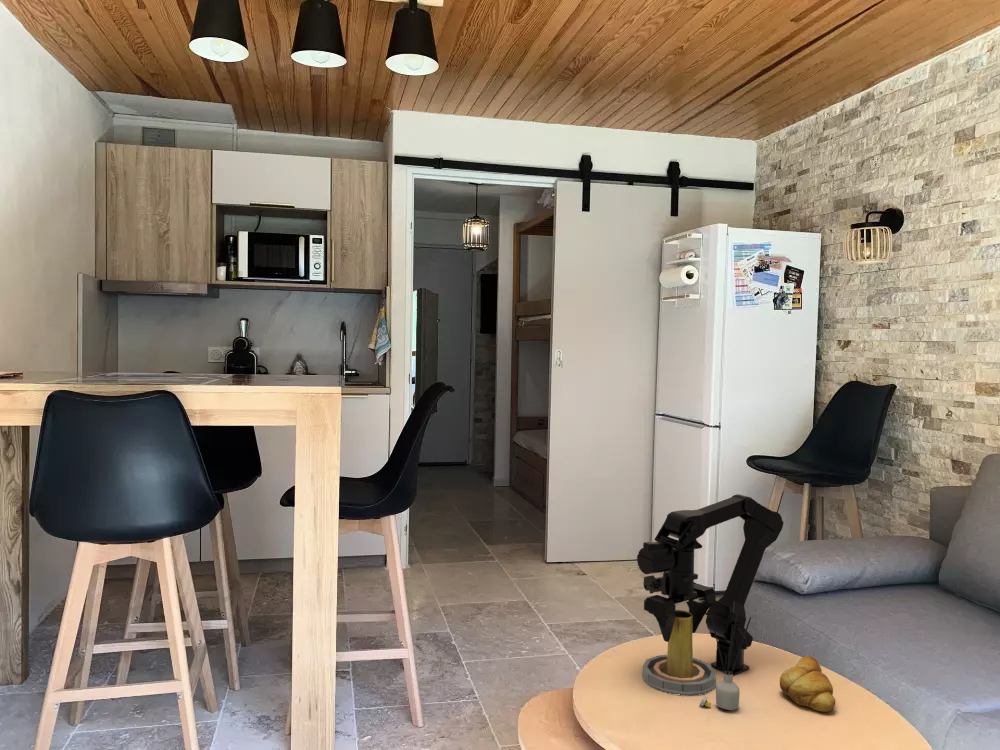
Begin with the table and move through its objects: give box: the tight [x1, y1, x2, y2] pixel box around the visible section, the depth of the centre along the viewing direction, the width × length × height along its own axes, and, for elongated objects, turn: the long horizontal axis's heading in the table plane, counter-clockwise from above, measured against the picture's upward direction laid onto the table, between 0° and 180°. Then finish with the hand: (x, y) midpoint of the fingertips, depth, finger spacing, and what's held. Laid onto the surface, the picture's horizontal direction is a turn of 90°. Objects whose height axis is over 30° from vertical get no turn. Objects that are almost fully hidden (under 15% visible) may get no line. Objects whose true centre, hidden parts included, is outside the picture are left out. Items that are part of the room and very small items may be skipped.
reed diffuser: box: [699, 614, 752, 711], centre depth 154 cm, size 10×7×20 cm
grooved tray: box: [641, 654, 717, 696], centre depth 169 cm, size 16×16×2 cm
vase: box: [666, 609, 694, 678], centre depth 168 cm, size 6×6×14 cm
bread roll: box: [779, 655, 837, 712], centre depth 158 cm, size 13×10×8 cm
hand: (679, 636), depth 168 cm, fingers open, 9 cm apart
